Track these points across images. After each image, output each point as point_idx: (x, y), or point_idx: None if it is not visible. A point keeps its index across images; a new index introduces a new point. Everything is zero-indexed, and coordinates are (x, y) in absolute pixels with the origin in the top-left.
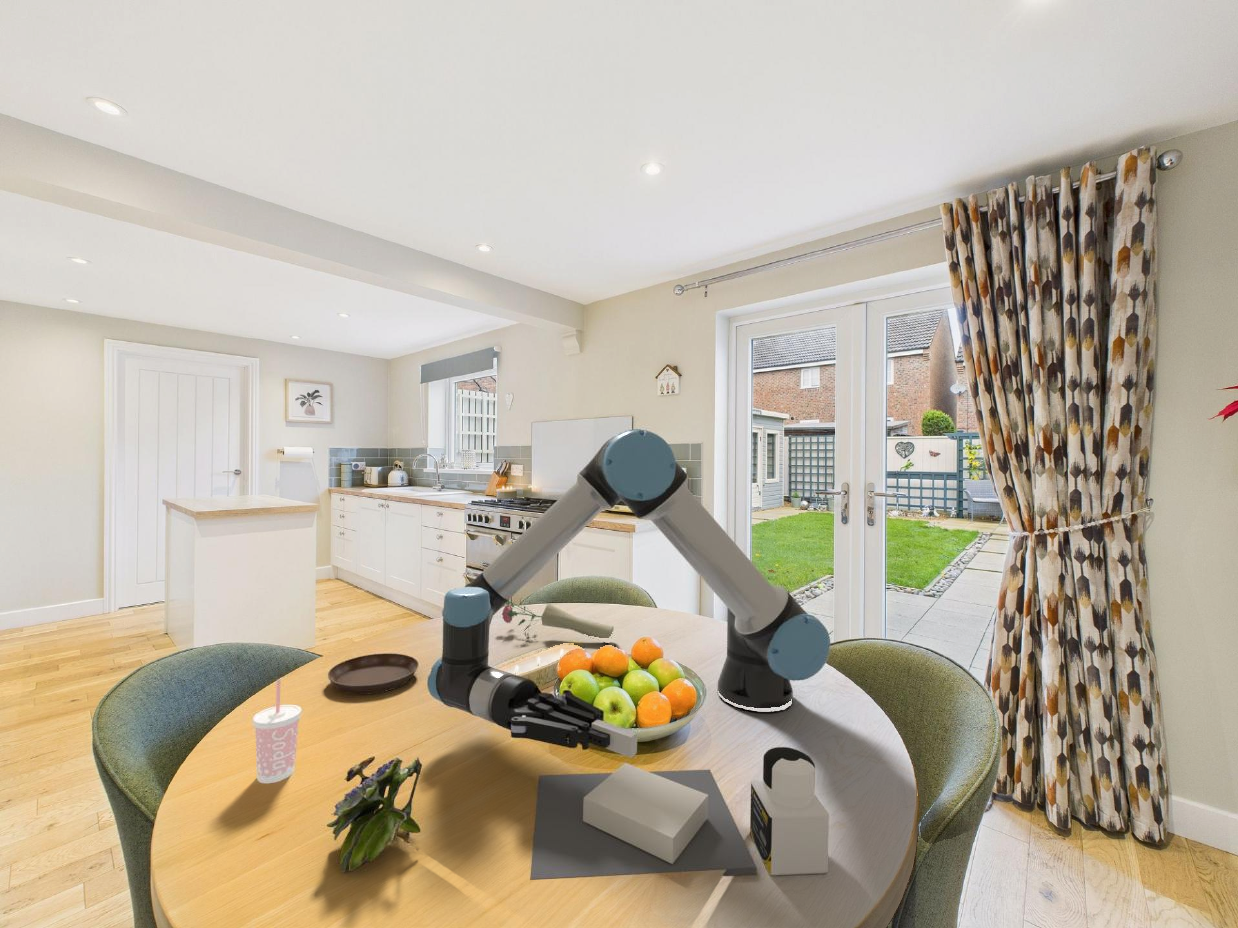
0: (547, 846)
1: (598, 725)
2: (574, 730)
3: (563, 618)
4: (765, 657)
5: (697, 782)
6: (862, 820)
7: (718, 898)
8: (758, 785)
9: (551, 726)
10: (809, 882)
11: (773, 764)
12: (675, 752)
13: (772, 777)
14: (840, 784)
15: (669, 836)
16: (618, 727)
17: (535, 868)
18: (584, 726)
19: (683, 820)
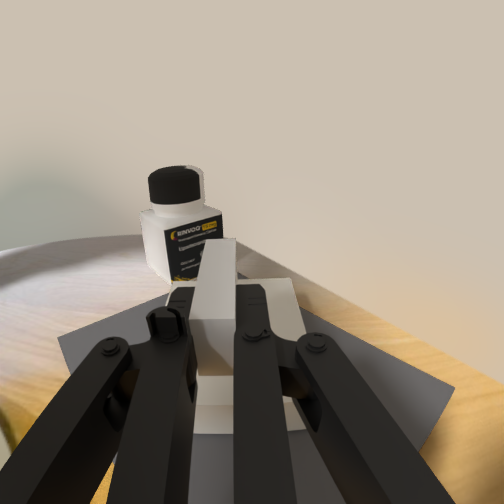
0: (408, 423)
1: (234, 298)
2: (325, 334)
3: None
4: None
5: (95, 341)
6: (112, 248)
7: None
8: (174, 221)
9: (389, 414)
10: None
11: (195, 172)
12: (6, 395)
13: (200, 184)
14: (61, 262)
15: (290, 281)
16: (206, 265)
17: (442, 399)
18: (268, 330)
19: (249, 281)
